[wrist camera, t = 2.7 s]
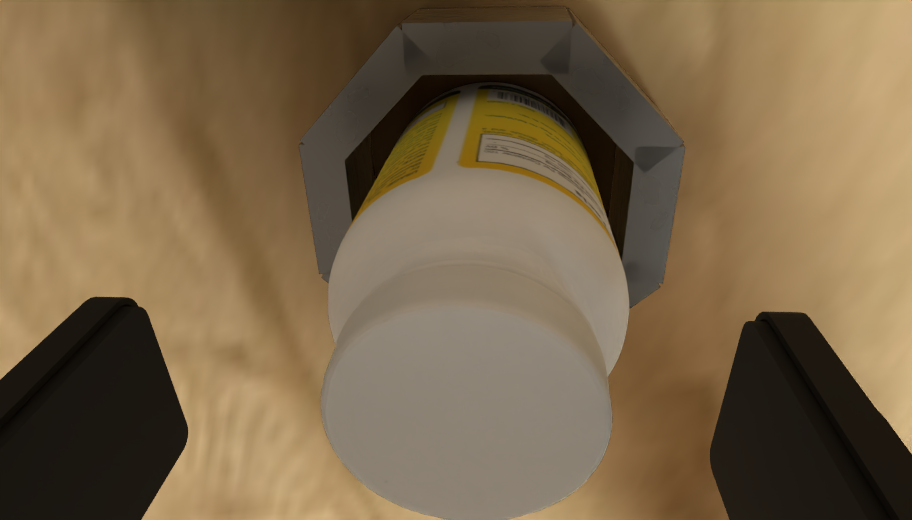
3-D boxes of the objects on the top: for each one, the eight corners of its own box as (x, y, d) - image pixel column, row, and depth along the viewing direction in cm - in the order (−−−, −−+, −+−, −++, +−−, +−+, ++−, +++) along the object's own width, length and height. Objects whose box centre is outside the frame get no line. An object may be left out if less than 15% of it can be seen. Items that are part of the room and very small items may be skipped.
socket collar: (676, 4, 16) (706, 18, 13) (632, 312, 21) (648, 366, 18) (316, 10, 17) (279, 25, 14) (354, 303, 22) (331, 354, 19)
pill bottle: (420, 271, 21) (334, 561, 11) (373, 98, 18) (205, 288, 9) (598, 247, 20) (671, 546, 10) (578, 58, 17) (652, 227, 7)
